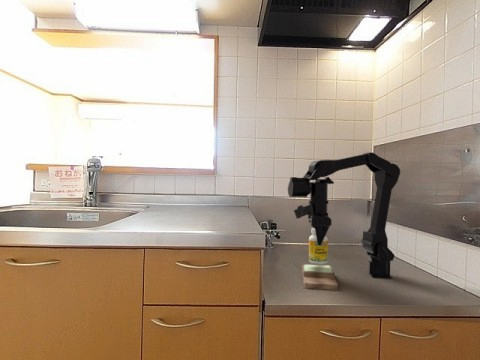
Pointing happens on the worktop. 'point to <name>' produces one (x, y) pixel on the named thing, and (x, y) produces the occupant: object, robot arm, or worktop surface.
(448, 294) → the worktop surface
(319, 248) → the supplement bottle
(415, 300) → the worktop surface
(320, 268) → the step stand
